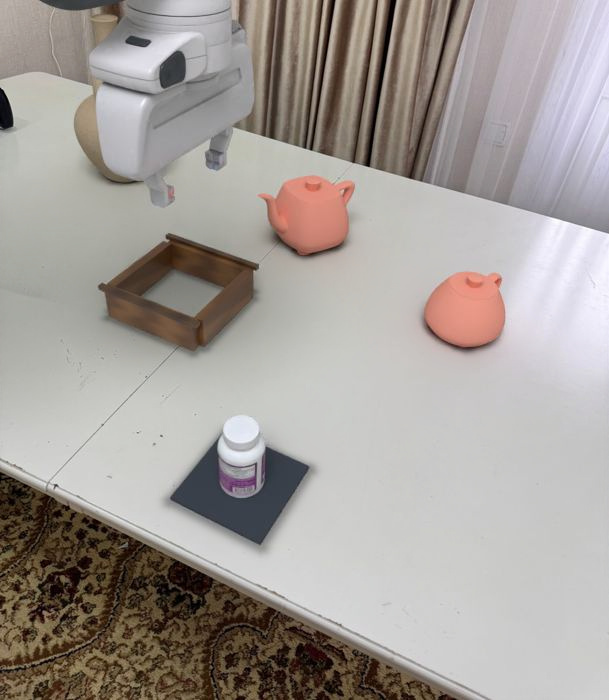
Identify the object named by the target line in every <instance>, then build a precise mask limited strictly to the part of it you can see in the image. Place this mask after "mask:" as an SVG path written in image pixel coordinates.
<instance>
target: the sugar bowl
mask: <svg viewBox="0 0 609 700" xmlns="http://www.w3.org/2000/svg"><path fill="white" fill-rule="evenodd" d="M502 282H503V277H502V275H501V274H499V273H498V272H490V273H489V274H488V275H485V274H482V273H480V272H475V271H467V270H466V271H460V272H456V273H453V274H452V275H451V276H449V277H448V278H446V279H445V280H444V281H442V282H441V283H440V284H439V285H437V286H436V287H435V288H434V289H433V291H432V293H430V295H429V297H428V299H427V301H426V302H425V307H424V311H423V312H424V318H425V321H426V323H427V325H428V326H429V328H430V329H431V330H432V331H433V333H434V334H435V335H436V336H437V337H439V338H440V339H442V340H443V341H445V342H447V343H449V344H452V345H454V346H458V347H459V348H464V349H465V348H474V347H479V346H483V345H486V344H489V343H491V342H493V341H494V340H496V339H497V338H498V337H499V336H501V334H502V332H503V330H504V327H505V324H506V308H505V307H506V306H505V302H504V299H503V296H502V293H501V290H500V287H501V285H502Z"/></svg>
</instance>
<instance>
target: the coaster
mask: <svg viewBox="0 0 609 700" xmlns="http://www.w3.org/2000/svg"><path fill="white" fill-rule="evenodd" d="M222 434H223V432H222V433H221V434H220V436H218V438H217V439H216V440H215V442H214V443H213V444H212V445H211V446H210V448H209V449H208V450H207V451H206V453H205V454H204V455H203V456H202V457H201V458H200V460H199V461H198V463H197V464H196V465H195V466H194V467H193V468H192V470H191V471H190V472H189V473H188V475H187V476H186V477H185V479H184V480H183V481H182V482H181V483H180V485H178V487H177V488H176V489H175V490H174V492H173V493H172V494H171V495H170V497H169V499H170V501H172V502H175V503H176V504H178V505H181V506H182V507H184V508H186V509H189V511H192V512H194V513H196V514H197V515H200V516H202V517H204V518H206V519H208V520H210V521H211V522H214V523H215V524H218V525H219V526H222V527H224V528H226V529H227V530H230V531H231V532H234V533H236V534H237V535H239V536H241V537H243V538H245V539H247V540H249V541H251V542H252V543H255V544H257V545H259V546H261V545H262V543H263V542H264V540H265V538H266V537H267V535H268V534H269V532H270V530H271V529H272V527H274V524H275V523H276V521H277V519H278V518H279V516H280V515H281V513H282V511H283V510H284V508H285V507H286V505H287V504H288V503H289V501H290V499H291V498H292V496H293V494H294V493H295V491H296V490H297V488H298V487H299V485H300V484H301V482H302V480H303V478H304V477H305V475H306V474H307V473H308V471H309V469H310V465H308V464H305V463H303V462H301V461H299V460H297V459H295V458H292V457H290V456H288V455H286V454H284V453H281V452H279V451H277V450H275V449H272V448H270V447H268V446H266V448H265V480H264V484H263V487H262V488H261V490H260V491H259V492H258V493H256V494H255V495H253V496H250V497H247V498H236V497H232V496H230V495H228V494H227V493H226V492H225V491H224V490H223V489H222V487H221V485H220V480H219V465H218V449H217V447H218V441H219V439H220V437H221V435H222Z"/></svg>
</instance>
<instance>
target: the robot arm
mask: <svg viewBox="0 0 609 700" xmlns="http://www.w3.org/2000/svg"><path fill="white" fill-rule="evenodd" d="M38 1H40V2H41V3H43V4H45V5H48V6H49V7H53V8H56V9H58V10H64V11H74V12H77V11H86V10H91V9H96V8H100V7H106V6H109V5H113V4H117V3H121V2H124V1H125V11H126V15H125V16H123V17H122V18H121V19H120V21H119V22H117V26H116V27H115V28H114V30H113V31H112V32H111V33H110V34H109V35H108V36H107V37H106V38H105V39H104V40H103V41H102V42H101V43H100V44H99V45H98V44H97V45H96V46H95V47H94V48H93V49H92V50H91V51H90V53H89V56H88V66H89V69H90V70H89V71H90V74H91V77H92V76H93V77H94V78H96V79H99V80H101V81H103V82H102V84H101V85H100V87H99V89H98V91H97V95H96V118H97V127H98V134H99V141H100V147H101V152H102V157H103V160H104V163H105V165H106V166H107V167H108V168H109V169H110V170H111V171H112V172H113V173H115V174H117V175H120V176H123V177H126V178H129V179H132V180H135V181H136V182H142V181H143V182H144V184H145V186H147V188H148V189H149V195H150V201H151V204H152V205H153V206H155V207H159V208H162V209H165V208H166V207H168V206H169V205H171V204H172V203H174V201H175V198H176V197H175V187H174V185H170V184H167V183H166V182H165V179H164V178H163V177H165V176H166V175H167V168H166V167H167V166H169V165H170V164H172V163H174V162H176V161H177V160H178V159H180V158H182V157H183V156H185V155H186V154H188V153H190V152H191V151H193V150H194V149H196V148H198V147H199V146H201V145H202V144H204V143H206V142H207V141H209V140H210V141H209V148H208V150H206V151H204V156H205V157H204V158H205V167H206V168H207V169H209V170H213V171H215V172H217V171H220V170H222V169H223V168H224V167H226V166H227V163H228V155H227V153H228V150H229V147H230V144H231V140H232V137H233V134H234V124H236V123H239V122H240V121H242V120H243V119H244V118H246V117H248V116H249V115H250V114H251V113H252V111H253V109H254V105H255V99H256V97H255V95H256V94H255V77H254V66H253V57H252V53H251V49H250V47H249V46H248V44H247V43H246V42H247V37H246V36H247V35H246V34H247V33H246V31H245V29H243V26H242V25H241V24H240V23H239V22H238V20H236V19H233V15H232V14H233V13H232V0H38Z"/></svg>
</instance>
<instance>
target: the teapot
mask: <svg viewBox="0 0 609 700" xmlns="http://www.w3.org/2000/svg"><path fill="white" fill-rule="evenodd" d="M355 189H356V184H355V182H354V181H352V180H343V181H341V182H338V183H336V184H334V183H333V182H331V181H329V180H328V179H326V178H324V177H322V176H319V175H316V174H315V175H314V174H312V175H305V176H300V177H299V176H298V177H296V178H292V179H289V180H287V181H285V182H283V183H282V185H281V187H280V189H279V192H278V193H277V194H276V197H274V196H273V195H271V194H268V193H258V194H257V196H258V197H259V198H261V199H262V200H264V201H265V203H266V209H267V211H266V212H267V219H268V222H269V224H270V226H271V227H272V228H273V229H274V230H275V232H276V234H277V235H278V236H279V238H280V239H281V240H282V241H283V242H284V244H286V245H288V246H289V247H290V248H293V249H294V250H296V252H297V254H298V255H300V256H308V255H310V254H312V253H317V252H321V251H325V250H329V249H332V248H335V247H337V246H339V245H340V244H342V243H343V242H344V240H345V239H346V238H347V237H348V234H349V232H350V231H349V230H350V221H349V213H348V209H347V205H348V203H349V202H350V200H351V198H352V197H353V194H354V192H355ZM341 191H343V192H341Z"/></svg>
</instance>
